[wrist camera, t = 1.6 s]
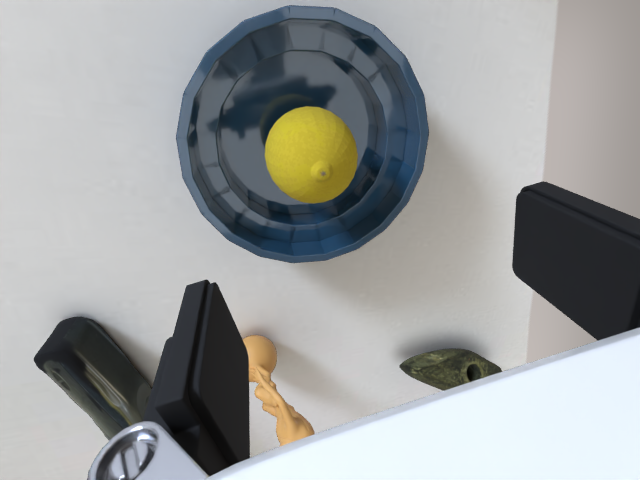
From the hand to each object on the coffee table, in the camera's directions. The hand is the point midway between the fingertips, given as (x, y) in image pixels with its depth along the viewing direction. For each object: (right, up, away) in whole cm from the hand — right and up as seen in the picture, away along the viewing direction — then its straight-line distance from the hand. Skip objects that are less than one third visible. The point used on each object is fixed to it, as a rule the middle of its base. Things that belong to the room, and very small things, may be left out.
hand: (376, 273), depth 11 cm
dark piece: (-19, -11, +21) cm, 31 cm away
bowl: (-3, +8, +15) cm, 17 cm away
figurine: (-7, -8, +23) cm, 25 cm away
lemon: (-3, +8, +14) cm, 17 cm away
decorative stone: (+12, -12, +29) cm, 33 cm away
